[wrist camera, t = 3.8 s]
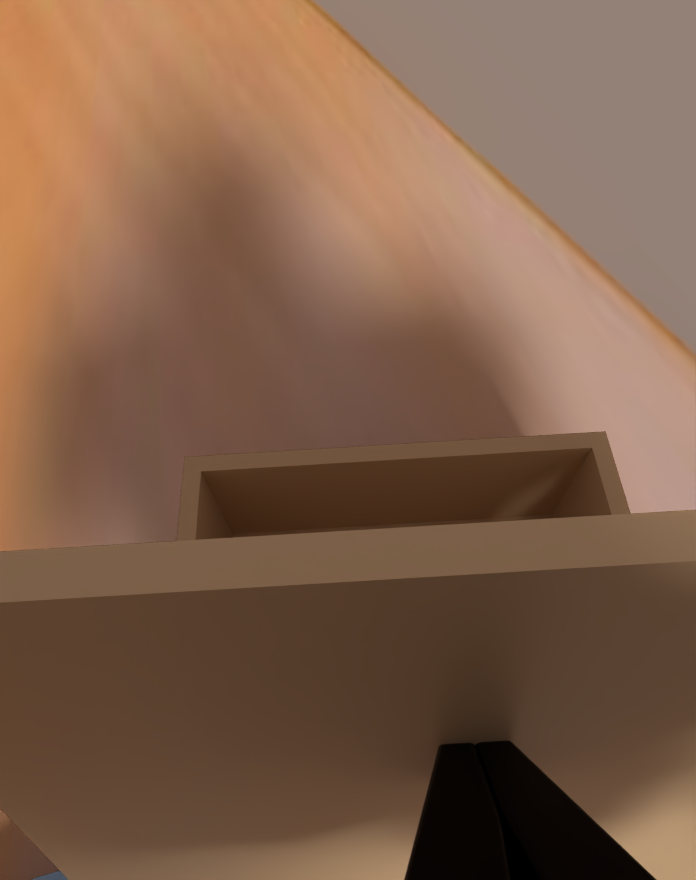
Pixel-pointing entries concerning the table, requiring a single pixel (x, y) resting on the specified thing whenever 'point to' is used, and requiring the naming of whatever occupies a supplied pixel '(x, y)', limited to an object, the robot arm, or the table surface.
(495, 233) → the table surface
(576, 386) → the table surface
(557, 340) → the table surface
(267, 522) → the carton
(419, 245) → the table surface
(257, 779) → the lid flap
